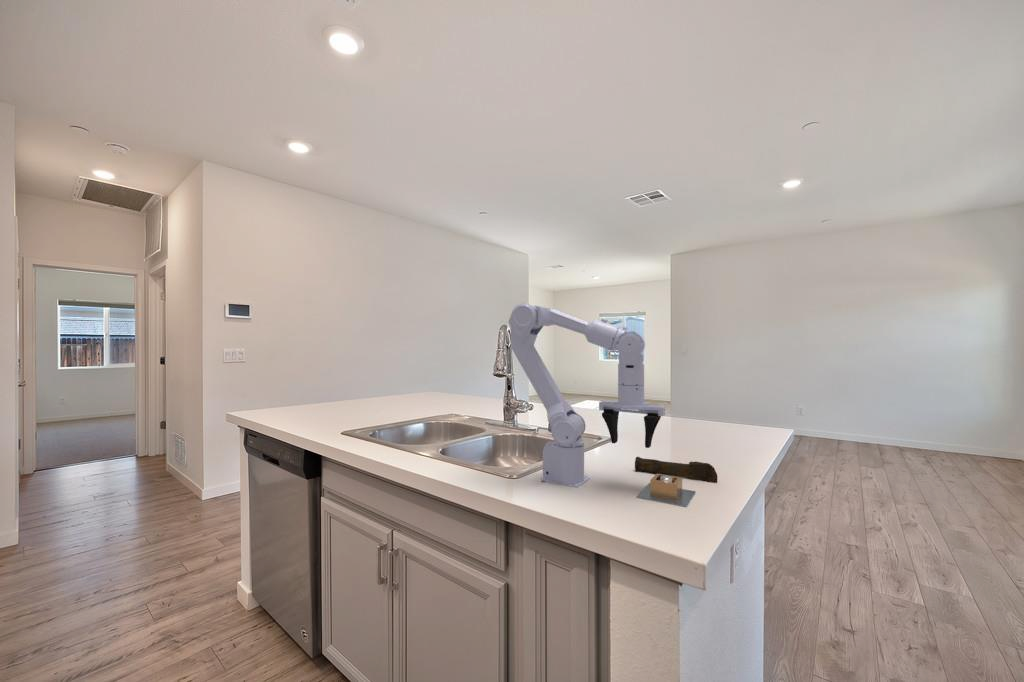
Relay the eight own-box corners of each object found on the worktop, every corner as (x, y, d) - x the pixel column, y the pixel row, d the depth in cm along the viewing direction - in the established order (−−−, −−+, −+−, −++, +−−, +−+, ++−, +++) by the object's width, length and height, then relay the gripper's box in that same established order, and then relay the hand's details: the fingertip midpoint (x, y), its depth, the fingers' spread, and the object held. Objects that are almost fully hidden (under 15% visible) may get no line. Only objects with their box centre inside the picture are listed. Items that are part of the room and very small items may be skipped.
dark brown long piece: (633, 473, 109) (633, 455, 109) (637, 469, 112) (637, 452, 112) (715, 488, 99) (715, 467, 99) (717, 483, 102) (717, 463, 102)
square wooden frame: (650, 495, 92) (650, 480, 92) (656, 487, 96) (656, 473, 96) (676, 500, 89) (676, 484, 89) (682, 492, 93) (682, 477, 93)
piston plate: (636, 499, 91) (636, 479, 91) (649, 485, 99) (649, 467, 99) (686, 509, 85) (686, 488, 85) (695, 494, 94) (695, 475, 94)
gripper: (594, 384, 98) (593, 443, 98) (659, 388, 90) (659, 453, 90) (605, 381, 104) (605, 438, 104) (667, 385, 96) (667, 446, 96)
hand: (630, 444), depth 97 cm, fingers open, 7 cm apart
